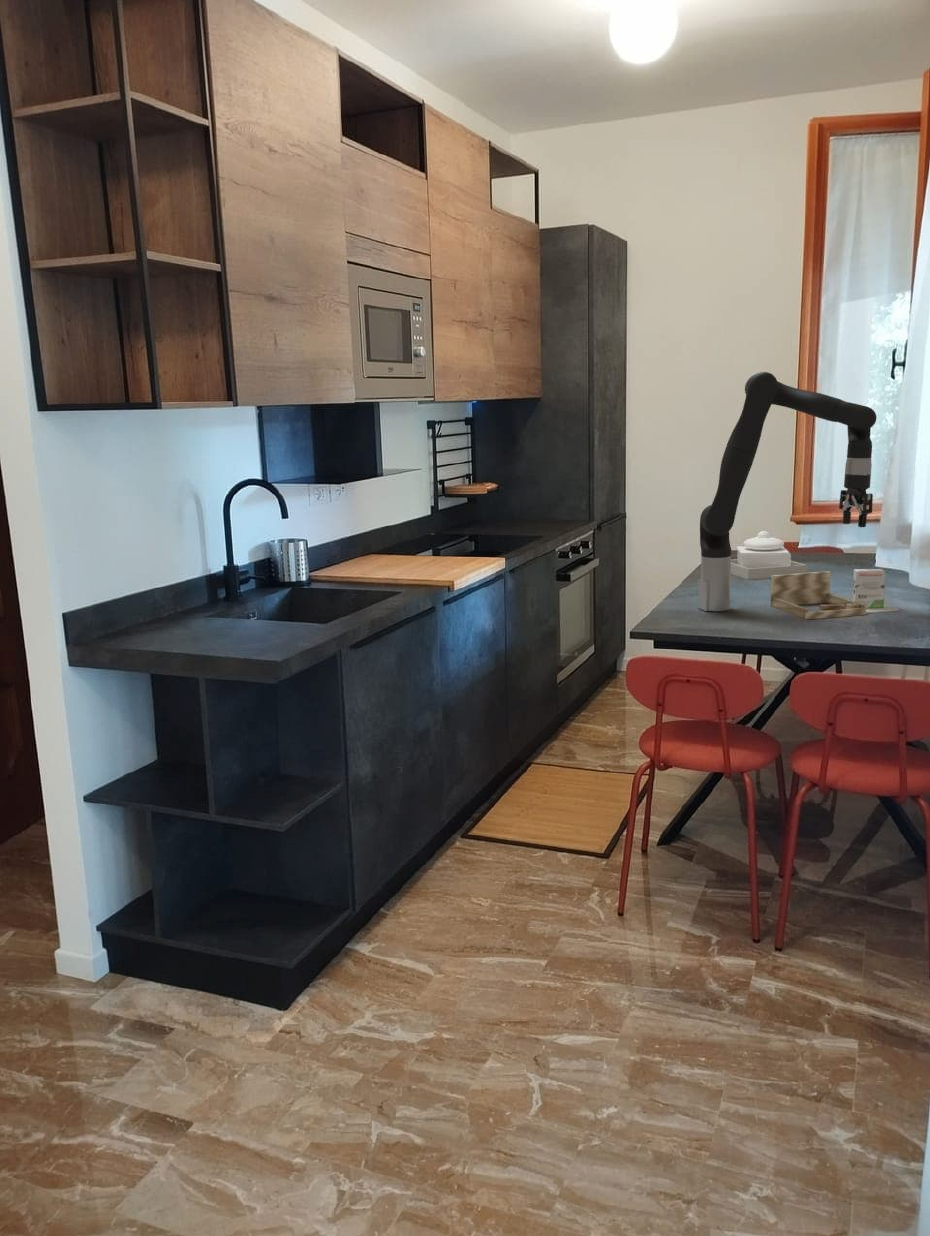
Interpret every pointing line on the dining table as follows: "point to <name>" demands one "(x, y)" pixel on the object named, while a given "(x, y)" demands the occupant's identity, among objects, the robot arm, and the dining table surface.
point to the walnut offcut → (832, 607)
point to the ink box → (869, 587)
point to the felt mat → (880, 609)
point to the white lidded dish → (763, 552)
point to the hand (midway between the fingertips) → (854, 525)
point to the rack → (808, 595)
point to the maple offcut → (852, 606)
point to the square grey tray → (766, 570)
